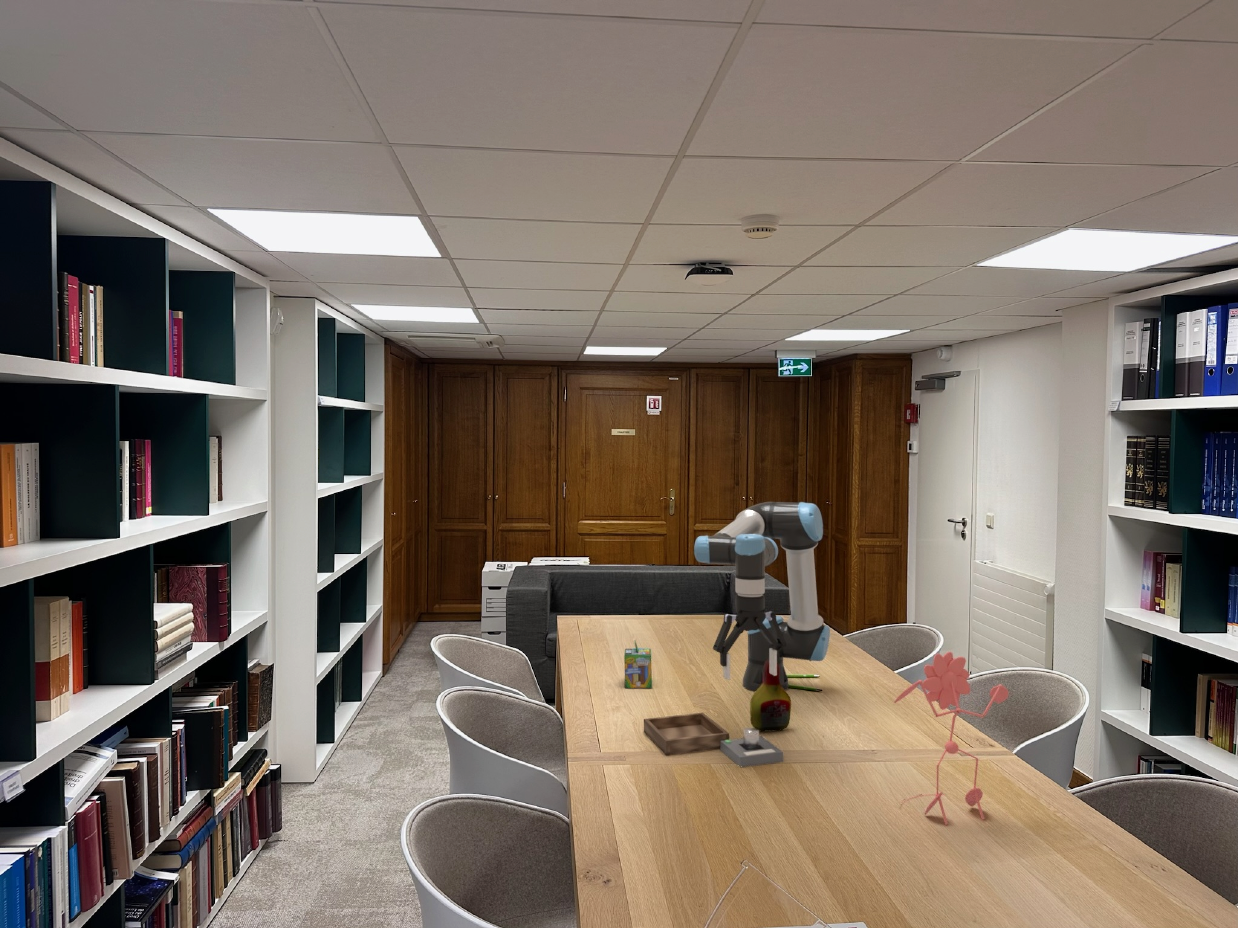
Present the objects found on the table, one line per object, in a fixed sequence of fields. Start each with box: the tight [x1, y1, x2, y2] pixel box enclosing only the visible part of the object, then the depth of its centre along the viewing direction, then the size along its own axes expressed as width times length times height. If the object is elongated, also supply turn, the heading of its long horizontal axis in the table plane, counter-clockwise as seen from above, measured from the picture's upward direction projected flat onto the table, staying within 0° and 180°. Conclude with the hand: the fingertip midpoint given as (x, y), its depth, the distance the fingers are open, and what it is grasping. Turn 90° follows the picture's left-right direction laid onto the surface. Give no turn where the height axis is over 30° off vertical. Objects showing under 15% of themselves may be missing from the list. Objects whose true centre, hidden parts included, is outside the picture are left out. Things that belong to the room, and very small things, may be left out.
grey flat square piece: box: [719, 735, 784, 768], centre depth 210 cm, size 12×12×3 cm
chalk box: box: [623, 640, 653, 689], centre depth 274 cm, size 9×9×15 cm
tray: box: [643, 712, 730, 756], centre depth 222 cm, size 18×18×4 cm
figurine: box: [893, 651, 1010, 825], centre depth 179 cm, size 15×26×35 cm, turn 104°
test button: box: [742, 727, 760, 750], centre depth 210 cm, size 4×4×4 cm
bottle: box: [749, 660, 792, 733], centre depth 230 cm, size 12×6×20 cm, turn 94°
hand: (750, 676), depth 210 cm, fingers open, 12 cm apart
